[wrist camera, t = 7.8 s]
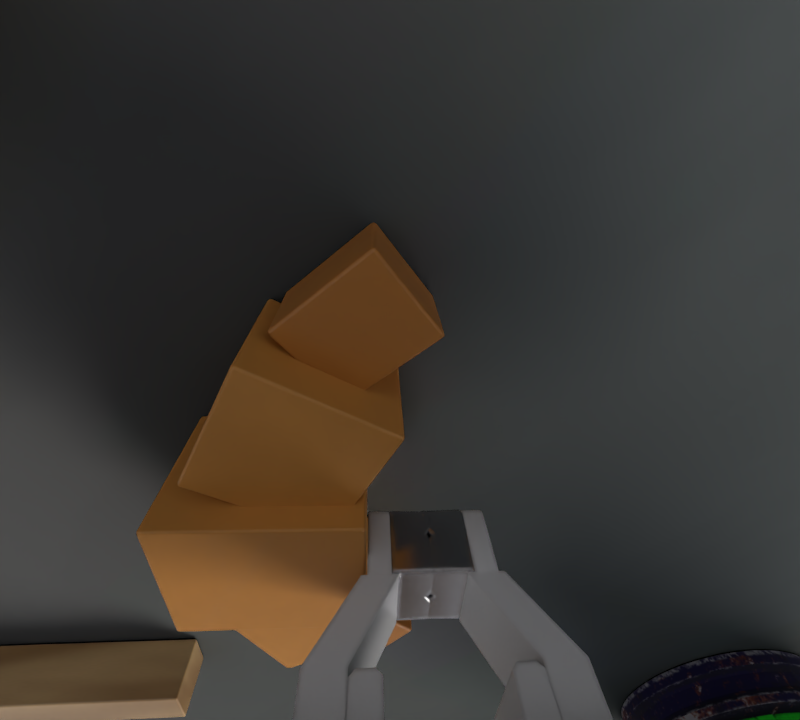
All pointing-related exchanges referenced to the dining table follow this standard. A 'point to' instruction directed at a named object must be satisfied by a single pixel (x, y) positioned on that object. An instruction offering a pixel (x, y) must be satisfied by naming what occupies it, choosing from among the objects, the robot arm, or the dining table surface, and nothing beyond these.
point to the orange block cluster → (293, 456)
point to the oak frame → (98, 680)
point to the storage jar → (722, 689)
